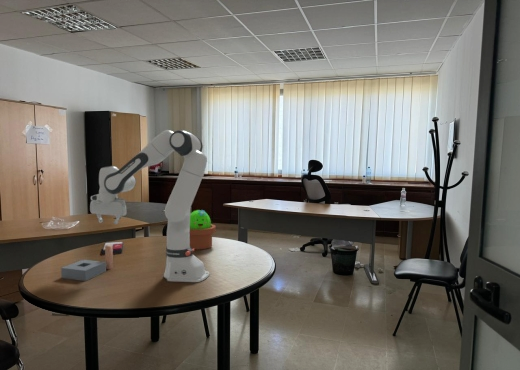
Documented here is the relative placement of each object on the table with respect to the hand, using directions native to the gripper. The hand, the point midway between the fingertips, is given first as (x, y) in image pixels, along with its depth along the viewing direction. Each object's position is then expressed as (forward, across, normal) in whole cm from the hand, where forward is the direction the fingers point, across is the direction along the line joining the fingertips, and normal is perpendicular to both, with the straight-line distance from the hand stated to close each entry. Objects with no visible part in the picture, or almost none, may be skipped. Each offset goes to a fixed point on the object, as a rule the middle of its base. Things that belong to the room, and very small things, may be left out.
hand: (108, 223), depth 178 cm
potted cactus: (+24, -26, -55) cm, 65 cm away
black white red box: (+25, +20, -29) cm, 43 cm away
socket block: (+24, +4, +12) cm, 27 cm away
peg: (+24, 0, 0) cm, 24 cm away
